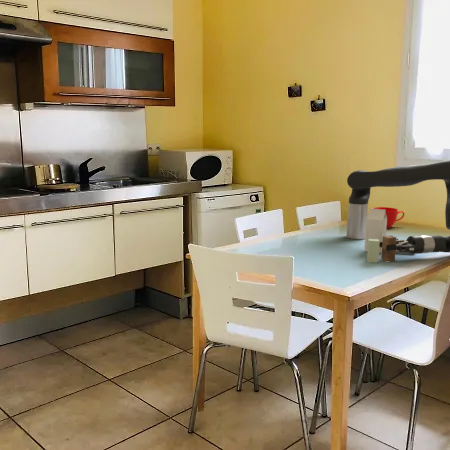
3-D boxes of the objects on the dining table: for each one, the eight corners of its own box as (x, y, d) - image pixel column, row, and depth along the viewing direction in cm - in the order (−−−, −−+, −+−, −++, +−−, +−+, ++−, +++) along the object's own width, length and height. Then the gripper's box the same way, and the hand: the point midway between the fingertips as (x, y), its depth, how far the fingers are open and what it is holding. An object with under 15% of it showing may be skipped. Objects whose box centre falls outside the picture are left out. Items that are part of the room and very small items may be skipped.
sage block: (368, 262, 213) (369, 240, 211) (366, 259, 217) (368, 238, 215) (378, 262, 212) (379, 241, 211) (376, 260, 216) (378, 239, 214)
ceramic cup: (407, 229, 278) (408, 211, 277) (375, 229, 279) (376, 210, 277) (399, 224, 291) (400, 207, 289) (369, 224, 291) (370, 207, 290)
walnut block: (385, 261, 214) (387, 237, 212) (381, 259, 218) (382, 235, 216) (394, 261, 215) (396, 237, 213) (389, 258, 219) (391, 235, 217)
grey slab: (392, 253, 228) (393, 247, 228) (392, 249, 237) (392, 242, 236) (414, 255, 226) (414, 248, 225) (413, 250, 234) (413, 244, 234)
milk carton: (380, 254, 227) (383, 210, 223) (364, 251, 230) (366, 209, 227) (384, 250, 232) (387, 208, 229) (369, 248, 236) (371, 207, 232)
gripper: (411, 232, 224) (375, 233, 221) (430, 239, 210) (392, 241, 207) (410, 249, 226) (374, 250, 222) (429, 257, 212) (391, 259, 209)
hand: (383, 246), depth 215 cm, fingers open, 5 cm apart
